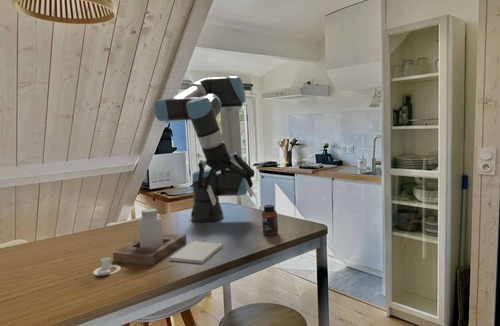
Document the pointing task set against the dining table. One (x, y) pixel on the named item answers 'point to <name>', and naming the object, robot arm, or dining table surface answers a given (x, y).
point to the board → (196, 252)
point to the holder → (149, 250)
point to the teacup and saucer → (106, 267)
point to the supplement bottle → (269, 220)
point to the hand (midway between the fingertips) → (232, 199)
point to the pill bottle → (150, 229)
